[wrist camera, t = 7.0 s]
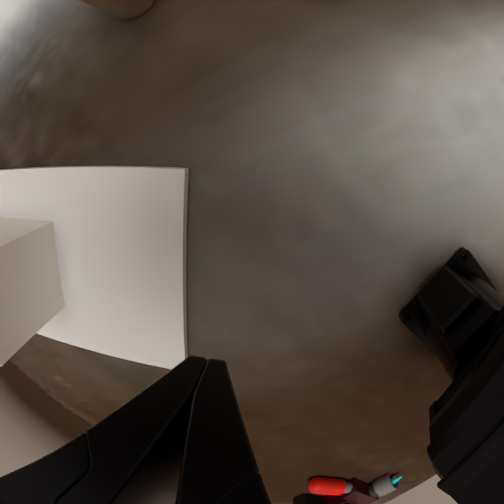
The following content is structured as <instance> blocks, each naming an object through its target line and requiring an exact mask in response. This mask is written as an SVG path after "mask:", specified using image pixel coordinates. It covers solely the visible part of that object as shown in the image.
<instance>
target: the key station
mask: <svg viewBox="0 0 504 504" xmlns="http://www.w3.org/2000/svg"><path fill="white" fill-rule="evenodd" d="M188 179H189V168H182V167H158V166H50V167H28V168H12V169H0V367H1V366H3V364H4V363H6V361H7V360H9V359H10V358H11V357H12V356H13V355H14V354H15V353H16V352H17V351H18V350H19V349H20V348H21V347H22V346H23V345H24V344H25V343H26V342H27V341H28V340H29V339H30V338H31V337H32V336H33V335H34V334H35V333H37V334H40V335H43V336H46V337H49V338H52V339H55V340H58V341H61V342H64V343H68V344H71V345H74V346H78V347H81V348H84V349H88V350H92V351H95V352H99V353H103V354H106V355H110V356H114V357H118V358H122V359H126V360H131V361H135V362H139V363H144V364H148V365H153V366H158V367H163V368H168V369H173V368H174V367H175V366H177V365H178V364H179V363H181V362H182V361H183V360H185V359H186V358H187V357H188V345H187V303H186V247H187V204H188Z"/></svg>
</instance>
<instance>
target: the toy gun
mask: <svg viewBox="0 0 504 504" xmlns="http://www.w3.org/2000/svg"><path fill="white" fill-rule="evenodd" d="M400 478H401V477H396V476H394V477H392V478H390V473H388V474H386V475H384V476H382V477H380V478H378V479H376V480H374V481H373V482H372V483H370V484H368V483H366V482H363V481H361V480H359V479H357V478H352V479H351V480H349V481H348V482H345V480H344V479H338V478H327V477H314V478H312V479H311V480H310V481H309V482H308V489H309V491H310V492H312V493H314V494H325V495H327V496H324V497H323V496H317V495H312V494H302V495H299V496H297V497H294V499H293V504H369V503H372V502H374V501H376V500H378V496H384V495H386V494H388V493H390V492H392V491H394V490H396V489H398V488H399V482H398V480H399V479H400Z"/></svg>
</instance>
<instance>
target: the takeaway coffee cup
mask: <svg viewBox="0 0 504 504" xmlns="http://www.w3.org/2000/svg"><path fill="white" fill-rule="evenodd" d="M78 1H81V2H84V3H87V4H89V5H91V6H94V7H96V8H99V9H101V10H103V11H105V12H108V13H110V14H112V15H114V16H116V17H118V18H121V19H123V20H126V19H131V18H135V17H139V16H140V15H142V14H143V13H144V12H145V11H147V10H148V9H149V8H151V7H152V5H153V3H154V1H155V0H78Z"/></svg>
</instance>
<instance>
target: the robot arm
mask: <svg viewBox="0 0 504 504" xmlns="http://www.w3.org/2000/svg"><path fill="white" fill-rule="evenodd" d="M464 254H465V257H464V258H463V259H462V256H463V255H464ZM407 314H409V316H408V317H407V318H405V316H406V315H407ZM399 317H400V319H401V321H402V323H403V324H404V325H405V326H407V327H408V328H409V329H410V330H411V331H412V332H413V333H414V334H415V335H416V336H417V337H418V338H419V339H420V340H422V341H423V342H424V343H425V344H426V345H427V346H428V347H429V348H430V349H431V350H432V351H433V352H434V353H435V354H436V355H437V356H438V358H439V359H440V361H441V363H442V364H443V366H444V368H445V370H446V371H447V373H448V375H449V377H450V378H451V380H452V383H451V384H450V386H449V387H448V388H447V389H446V391H445V392H444V393H443V394H442V396H441V397H440V398H439V399H438V400H437V401H435V402H434V403H433V404H432V405H431V406H430V408H429V414H430V427H429V432H430V444H429V445H428V447H427V453H428V456H429V458H430V461H431V463H432V465H433V468H434V470H435V471H436V473H437V475H438V476H439V477H440V478H441V480H440V481H439V482H438V483H437V486H438V488H440V489H441V490H442V491H444V492H445V493H447V494H448V495H450V496H451V497H452V498H453V499H454V500H455V501H456V502H457V503H458V504H504V297H503V296H502V295H500V294H499V293H498V292H497V291H496V289H495V288H494V286H493V285H492V283H491V282H490V280H489V279H488V277H487V276H486V274H485V273H484V271H483V270H482V268H481V267H480V265H479V264H478V263H477V261H476V260H475V258H474V257H473V256H472V254H471V253H470V252H469V251H468V250H467V249H465V248H461V249H460V250H458V252H457V253H456V254H455V255H454V256H453V257H452V258H451V260H450V261H449V262H448V263H447V264H446V265H445V266H444V267H443V268H442V269H441V270H440V271H439V272H438V273H437V274H436V276H435V277H434V278H433V279H432V280H431V281H430V282H429V283H428V284H427V285H426V286H425V287H424V288H423V289H422V290H421V291H420V292H419V294H418V295H417V296H416V297H415V298H414V299H413V300H412V301H411V302H410V303H409V304H408V305H407V306H406V307H405V308H404V309H403V310H402V311H401V312H400V315H399ZM175 500H176V503H175ZM174 503H175V504H271V502H270V499H269V497H268V494H267V492H266V489H265V486H264V484H263V481H262V478H261V475H260V473H259V469H258V466H257V463H256V460H255V457H254V454H253V451H252V448H251V445H250V442H249V439H248V435H247V432H246V429H245V426H244V423H243V419H242V416H241V413H240V409H239V406H238V403H237V399H236V396H235V392H234V389H233V386H232V382H231V379H230V375H229V372H228V368H227V365H226V362H225V361H224V360H218V359H208V360H207V359H206V358H204V357H198V356H189V357H187V358H186V359H185V360H183V361H182V362H181V363H179V364H178V365H177V366H175V367H174V368H173V369H171V370H170V371H169V372H167V373H166V374H165V375H163V376H162V377H161V378H159V379H158V380H156V381H155V382H154V383H152V384H151V385H150V386H148V387H147V388H146V389H144V390H143V391H141V392H140V393H139V394H137V395H136V396H135V397H133V398H132V399H130V400H129V401H128V402H126V403H125V404H123V405H122V406H121V407H119V408H118V409H116V410H115V411H114V412H112V413H111V414H109V415H108V416H106V417H105V418H104V419H102V420H101V421H99V422H98V423H96V424H95V425H94V426H92V427H91V428H89V429H88V430H87V431H86V433H82V434H80V435H79V436H77V437H76V438H74V439H73V440H71V441H70V442H68V443H67V444H65V445H63V446H62V447H60V448H59V449H57V450H55V451H54V452H52V453H50V454H48V455H46V456H44V457H43V458H41V459H39V460H37V461H35V462H33V463H31V464H29V465H27V466H25V467H22V468H20V469H18V470H16V471H14V472H11V473H9V474H7V475H5V476H2V477H0V504H174Z"/></svg>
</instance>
